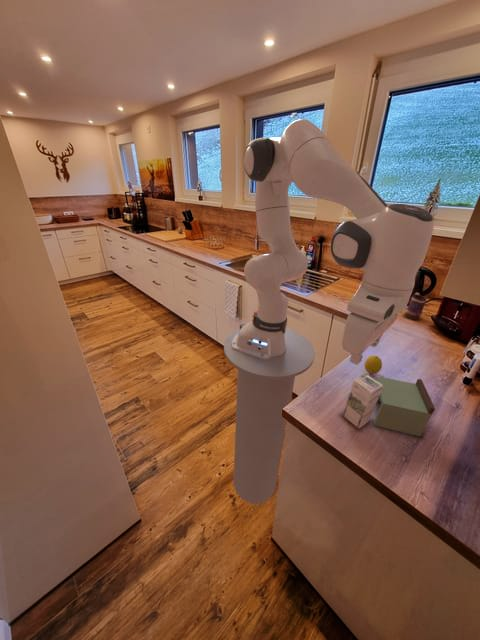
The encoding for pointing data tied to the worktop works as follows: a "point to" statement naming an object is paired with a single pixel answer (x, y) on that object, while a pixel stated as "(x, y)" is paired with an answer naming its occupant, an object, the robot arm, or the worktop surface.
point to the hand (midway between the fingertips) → (364, 353)
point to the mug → (415, 307)
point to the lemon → (373, 364)
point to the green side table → (403, 406)
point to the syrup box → (362, 400)
